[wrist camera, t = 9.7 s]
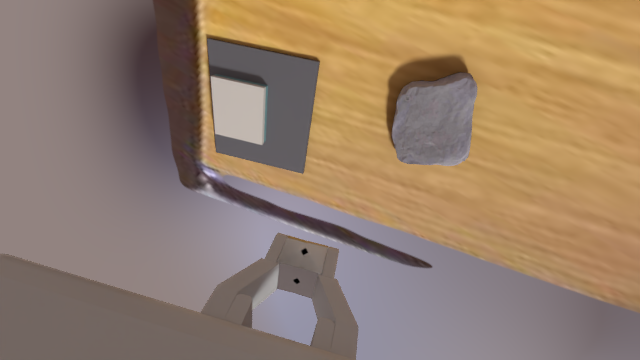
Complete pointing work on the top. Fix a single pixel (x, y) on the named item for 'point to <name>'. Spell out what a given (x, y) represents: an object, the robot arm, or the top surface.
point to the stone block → (435, 120)
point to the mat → (270, 102)
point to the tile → (239, 108)
